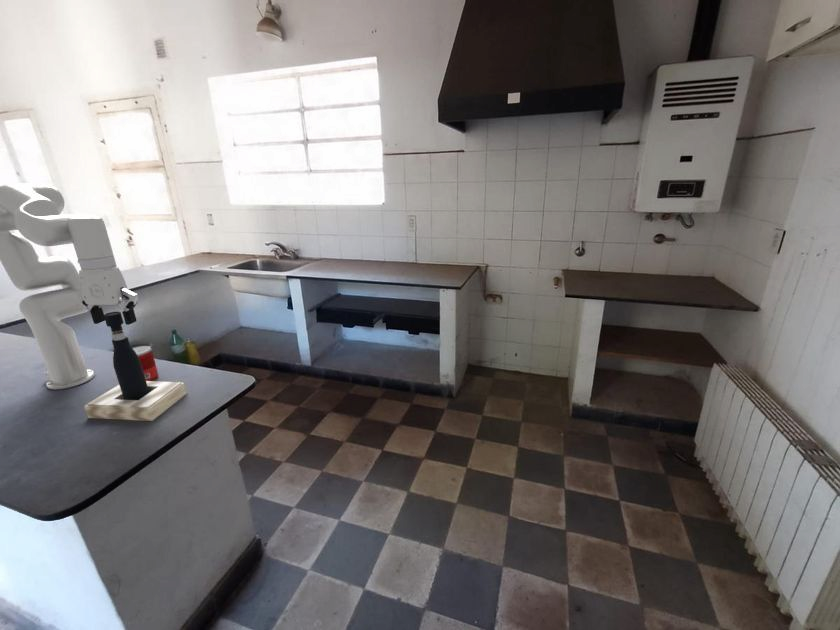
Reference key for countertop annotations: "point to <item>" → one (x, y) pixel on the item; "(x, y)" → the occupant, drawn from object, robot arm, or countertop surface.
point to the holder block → (136, 402)
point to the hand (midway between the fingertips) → (115, 322)
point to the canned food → (147, 362)
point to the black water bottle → (126, 361)
